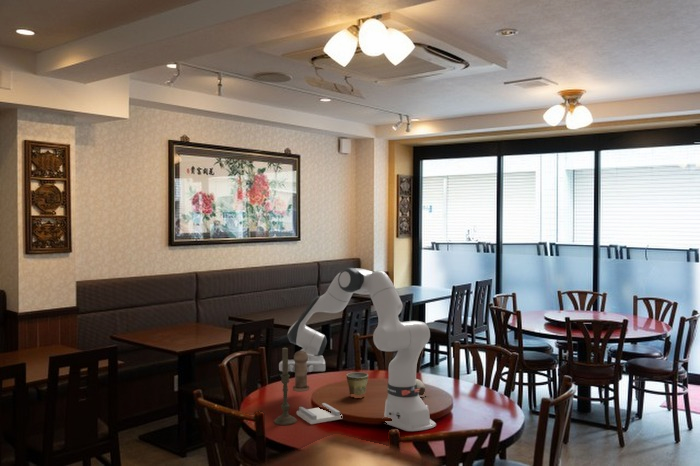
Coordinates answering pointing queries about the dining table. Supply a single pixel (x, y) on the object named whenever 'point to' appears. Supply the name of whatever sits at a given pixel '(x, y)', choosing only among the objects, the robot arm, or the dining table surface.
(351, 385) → the ceramic cup
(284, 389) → the candlestick holder
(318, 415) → the tray
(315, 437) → the dining table surface
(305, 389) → the tan wooden upright piece
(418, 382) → the skull
